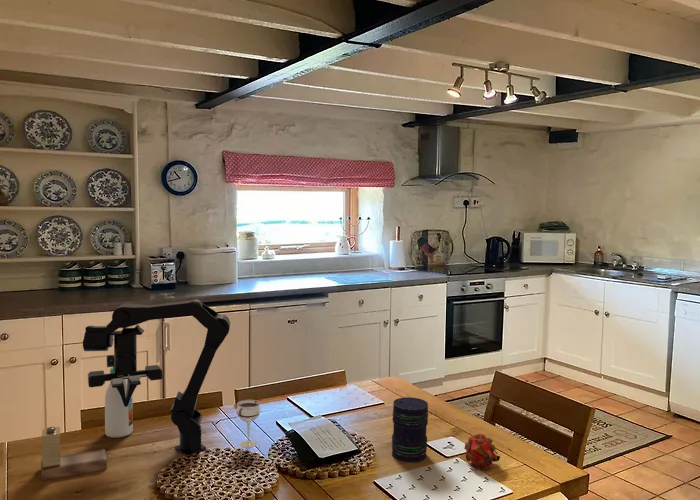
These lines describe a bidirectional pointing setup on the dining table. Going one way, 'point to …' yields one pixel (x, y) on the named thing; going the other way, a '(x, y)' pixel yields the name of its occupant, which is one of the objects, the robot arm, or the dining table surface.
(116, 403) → the milk bottle
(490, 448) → the dragon fruit
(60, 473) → the body
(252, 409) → the wineglass
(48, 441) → the beige rectangular block
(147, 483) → the dining table surface
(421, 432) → the dark blue cylinder
